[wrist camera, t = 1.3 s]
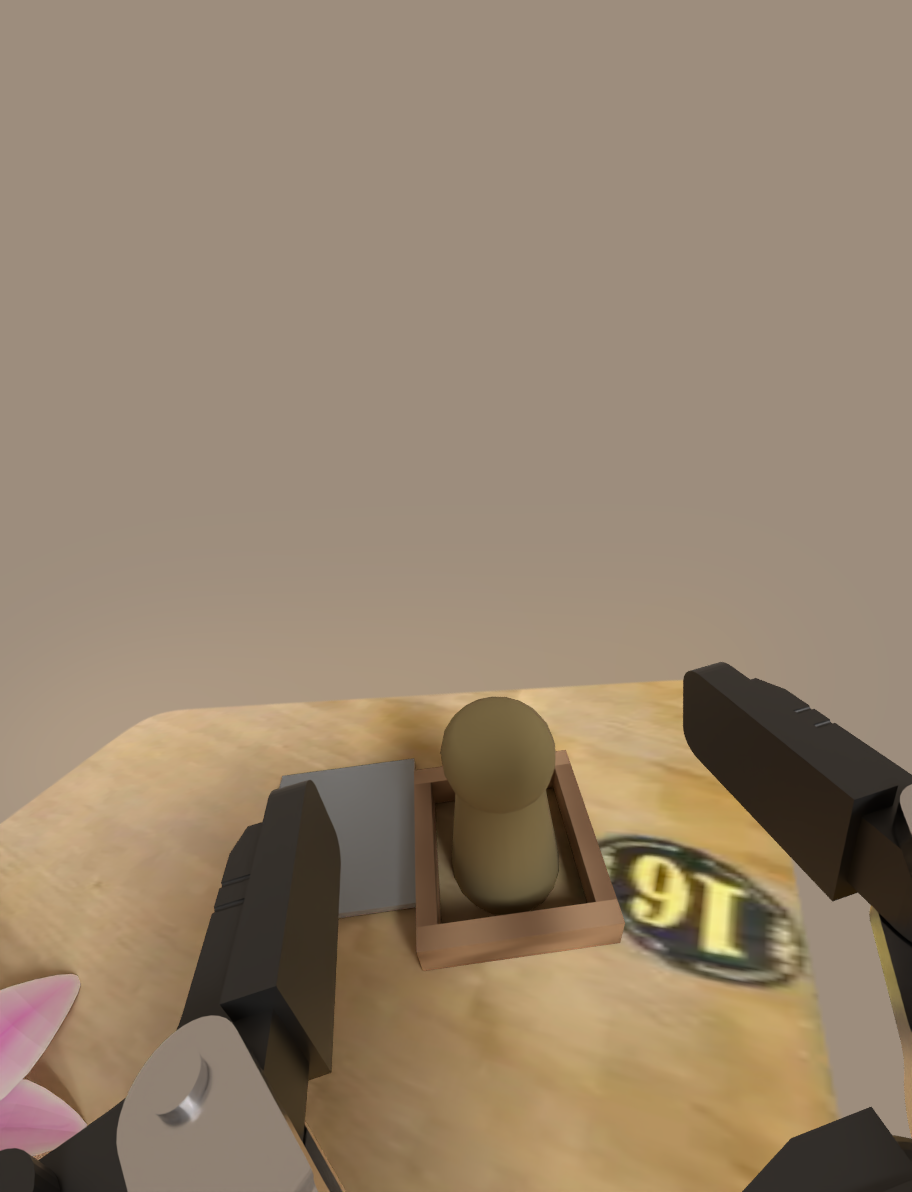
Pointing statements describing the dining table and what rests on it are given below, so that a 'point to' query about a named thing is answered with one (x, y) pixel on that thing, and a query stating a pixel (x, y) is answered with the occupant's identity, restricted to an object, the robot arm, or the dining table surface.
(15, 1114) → the lily
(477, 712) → the cork
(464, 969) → the dining table surface
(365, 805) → the plate
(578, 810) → the caddy
